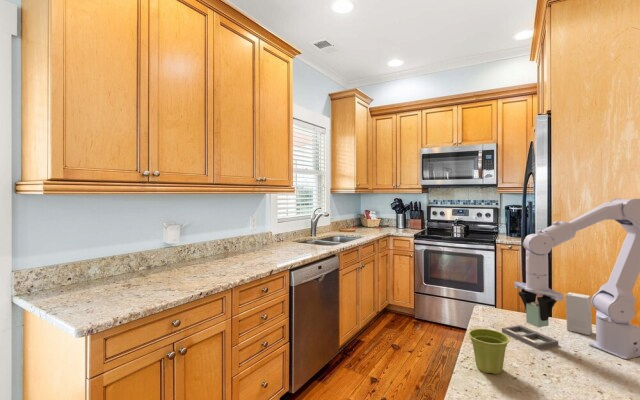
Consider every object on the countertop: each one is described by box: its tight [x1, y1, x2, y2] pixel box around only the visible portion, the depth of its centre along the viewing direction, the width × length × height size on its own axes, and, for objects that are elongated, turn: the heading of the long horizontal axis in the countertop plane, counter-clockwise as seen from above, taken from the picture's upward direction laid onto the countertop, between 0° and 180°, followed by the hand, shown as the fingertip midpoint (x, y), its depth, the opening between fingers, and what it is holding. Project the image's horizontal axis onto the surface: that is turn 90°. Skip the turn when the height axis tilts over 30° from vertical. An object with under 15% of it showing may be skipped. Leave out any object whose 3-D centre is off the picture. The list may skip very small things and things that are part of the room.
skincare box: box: [565, 291, 593, 336], centre depth 107 cm, size 6×4×12 cm
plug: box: [525, 301, 549, 328], centre depth 100 cm, size 4×4×7 cm
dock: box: [501, 324, 559, 350], centre depth 103 cm, size 13×8×1 cm, turn 17°
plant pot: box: [468, 328, 510, 375], centre depth 85 cm, size 9×9×9 cm
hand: (537, 317), depth 100 cm, fingers closed on plug, 4 cm apart
